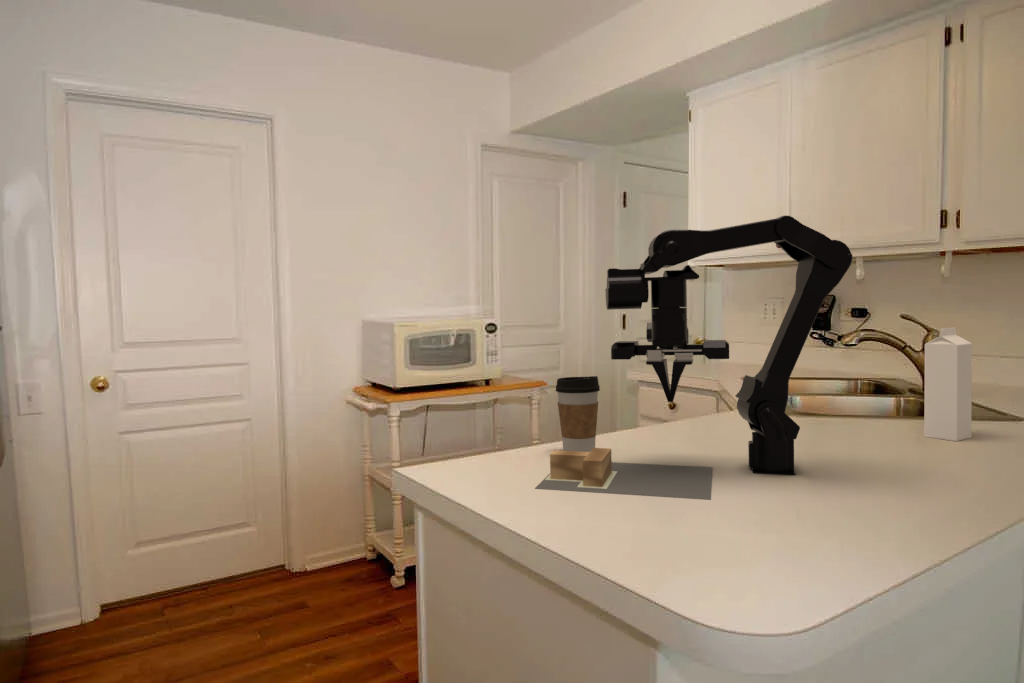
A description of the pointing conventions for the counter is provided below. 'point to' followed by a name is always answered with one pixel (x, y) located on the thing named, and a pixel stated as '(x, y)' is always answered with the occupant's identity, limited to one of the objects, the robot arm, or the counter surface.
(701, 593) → the counter surface
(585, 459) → the t block
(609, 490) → the mat
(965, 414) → the milk
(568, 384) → the coffee cup
